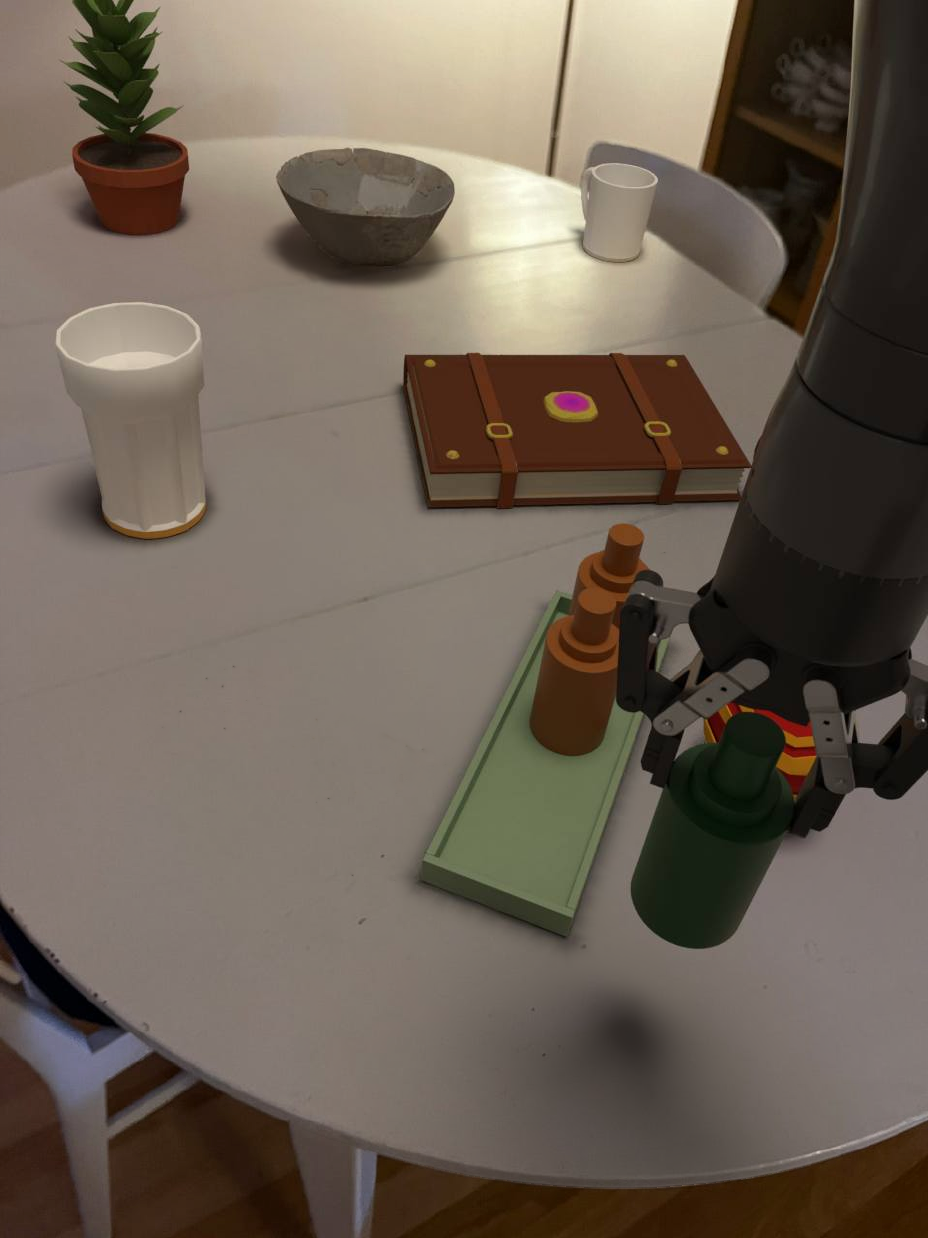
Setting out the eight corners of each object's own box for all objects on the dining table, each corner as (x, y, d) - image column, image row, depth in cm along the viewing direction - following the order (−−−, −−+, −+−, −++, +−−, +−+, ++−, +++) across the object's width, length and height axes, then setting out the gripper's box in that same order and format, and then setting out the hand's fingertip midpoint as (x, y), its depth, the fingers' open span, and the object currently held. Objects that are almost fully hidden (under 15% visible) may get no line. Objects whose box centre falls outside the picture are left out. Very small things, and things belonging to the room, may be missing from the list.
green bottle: (764, 927, 52) (852, 765, 43) (668, 966, 50) (739, 804, 41) (701, 837, 55) (770, 671, 47) (609, 869, 53) (662, 702, 45)
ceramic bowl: (403, 311, 125) (407, 231, 118) (245, 262, 131) (240, 183, 124) (478, 249, 140) (486, 174, 133) (333, 207, 146) (333, 134, 139)
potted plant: (214, 207, 143) (193, -44, 122) (166, 249, 132) (134, -18, 111) (115, 188, 144) (78, -62, 124) (59, 229, 134) (9, -38, 113)
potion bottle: (819, 748, 79) (891, 606, 69) (828, 859, 71) (911, 719, 61) (684, 721, 80) (736, 577, 69) (680, 828, 72) (737, 684, 62)
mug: (654, 252, 144) (670, 178, 137) (618, 269, 139) (633, 193, 132) (592, 226, 149) (604, 153, 142) (555, 242, 144) (566, 167, 137)
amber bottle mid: (619, 744, 77) (656, 618, 68) (551, 765, 75) (580, 638, 66) (582, 690, 80) (613, 564, 72) (516, 708, 78) (539, 582, 70)
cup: (104, 558, 88) (67, 379, 76) (79, 484, 95) (43, 310, 83) (233, 532, 92) (218, 358, 80) (200, 462, 99) (182, 293, 87)
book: (740, 502, 102) (754, 461, 98) (428, 510, 97) (431, 467, 93) (673, 383, 118) (683, 344, 114) (402, 384, 113) (404, 343, 109)
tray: (566, 937, 65) (572, 918, 64) (420, 880, 67) (422, 859, 66) (667, 647, 86) (673, 626, 84) (552, 610, 88) (556, 589, 86)
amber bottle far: (644, 674, 82) (681, 550, 73) (581, 692, 80) (612, 566, 71) (608, 627, 86) (640, 503, 77) (548, 642, 84) (573, 517, 75)
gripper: (629, 500, 34) (556, 804, 46) (1083, 633, 31) (882, 922, 43) (677, 397, 39) (600, 692, 51) (1069, 501, 36) (893, 790, 48)
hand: (729, 796), depth 47 cm, fingers closed on green bottle, 6 cm apart
